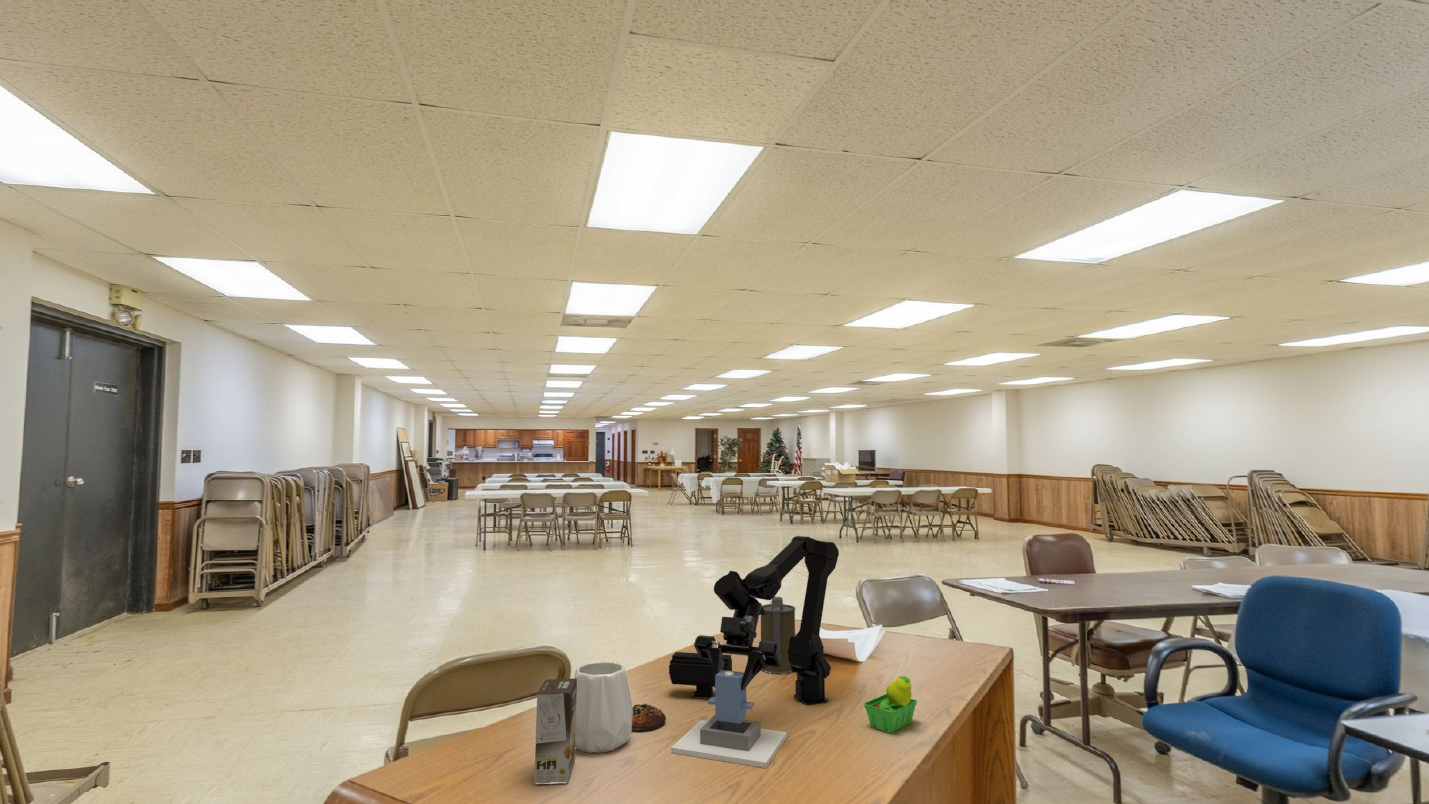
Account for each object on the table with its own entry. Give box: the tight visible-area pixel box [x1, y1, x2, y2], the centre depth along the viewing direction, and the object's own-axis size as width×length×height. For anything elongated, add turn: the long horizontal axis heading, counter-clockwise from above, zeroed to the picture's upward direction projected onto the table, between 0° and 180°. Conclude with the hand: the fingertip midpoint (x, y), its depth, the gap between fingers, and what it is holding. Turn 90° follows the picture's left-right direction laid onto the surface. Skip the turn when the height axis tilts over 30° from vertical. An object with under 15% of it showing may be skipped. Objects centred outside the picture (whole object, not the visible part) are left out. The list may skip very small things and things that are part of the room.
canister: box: [760, 596, 796, 675], centre depth 191 cm, size 11×10×20 cm
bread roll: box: [631, 703, 667, 732], centre depth 150 cm, size 11×11×5 cm
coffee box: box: [533, 677, 577, 784], centre depth 125 cm, size 9×6×16 cm
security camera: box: [668, 651, 733, 699], centre depth 168 cm, size 7×18×10 cm, turn 78°
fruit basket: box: [863, 675, 918, 734], centre depth 148 cm, size 11×9×11 cm
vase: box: [573, 661, 633, 754], centre depth 139 cm, size 14×14×15 cm
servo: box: [707, 670, 755, 724], centre depth 138 cm, size 10×4×10 cm, turn 69°
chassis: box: [670, 715, 788, 769], centre depth 138 cm, size 20×16×4 cm
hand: (728, 687), depth 137 cm, fingers closed on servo, 5 cm apart
